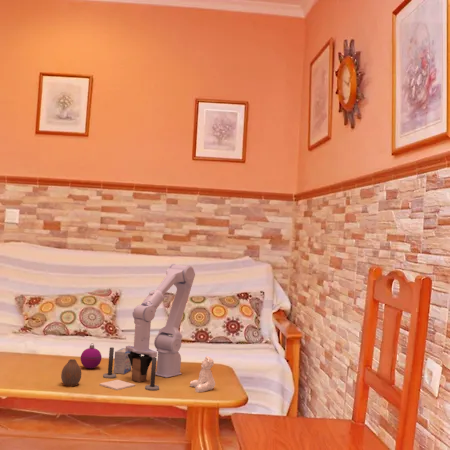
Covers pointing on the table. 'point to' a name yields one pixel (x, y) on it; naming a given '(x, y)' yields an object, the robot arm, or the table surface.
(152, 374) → the post
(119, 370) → the medicine box
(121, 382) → the white pad
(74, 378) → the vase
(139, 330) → the robot arm
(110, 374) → the post
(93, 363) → the christmas ornament
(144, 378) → the walnut block
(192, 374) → the table surface
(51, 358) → the table surface
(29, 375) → the table surface
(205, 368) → the seated beast figurine
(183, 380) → the table surface
